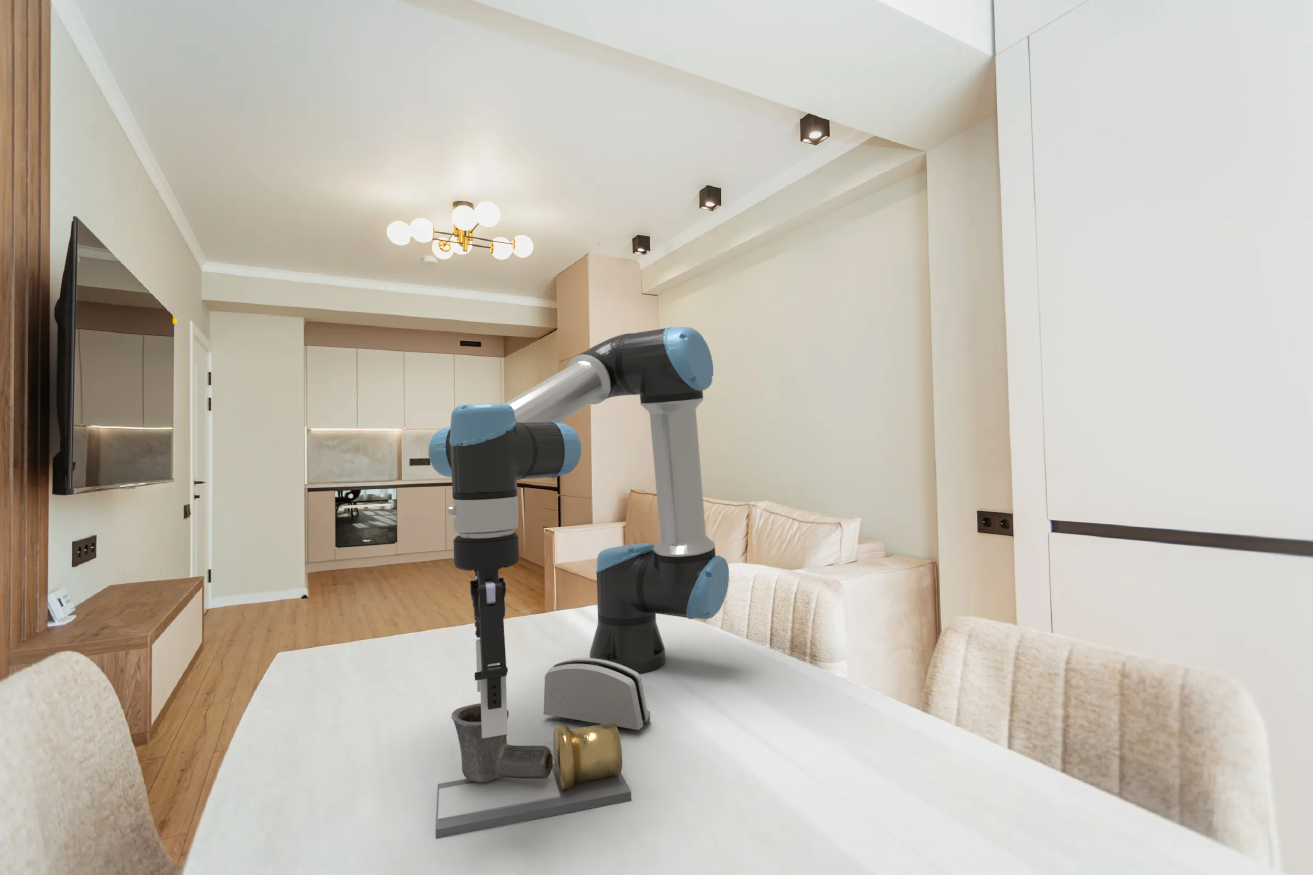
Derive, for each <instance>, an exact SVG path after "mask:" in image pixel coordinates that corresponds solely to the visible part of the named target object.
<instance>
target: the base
mask: <svg viewBox="0 0 1313 875" xmlns="http://www.w3.org/2000/svg"><path fill="white" fill-rule="evenodd" d="M436 793H437V794H436V798H437V799H436V811H435V812H436V814H435V817H436V818H435V839H439V838H445V837H449V836H455V835H461V834H466V833H470V832H476V831H477V832H478V831H482V830H487V829H492V828H496V827H503V826H507V825H512V824H518V823H519V824H520V823H524V822H529V821H533V820H534V821H535V820H538V819H543V818H548V817H549V818H550V817H554V816H558V815H564V814H567V813H568V814H569V813H573V812H579V811H584V810H588V809H589V810H590V809H593V808H599V807H603V806H604V807H605V806H608V805H613V804H619V803H624V802H628V801H632V790H631V789H630V787H629V785H628V783H627V781H626V780H625V778H624V776H623V773H622V772H621V774H620V775H615V776H610V777H605V778H599V779H594V780H588V781H583V782H578V783H574V787H573V789H570V790H564V791H561V790H560V787H559V784H558V781H557V777H556V773H555V765H554V763H553V766H552V770H551V773H550V775H549V776H548V778H545V779H525V778H524V779H521V778H506V777H499V778H496V779H493V780H490V781H488V782H474V781H471V780H469V779H467V778H464V779H457V780H453V781H452V780H451V781H447V782H446V781H445V782H442V783H440V782H439V783H437V792H436Z"/></svg>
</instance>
